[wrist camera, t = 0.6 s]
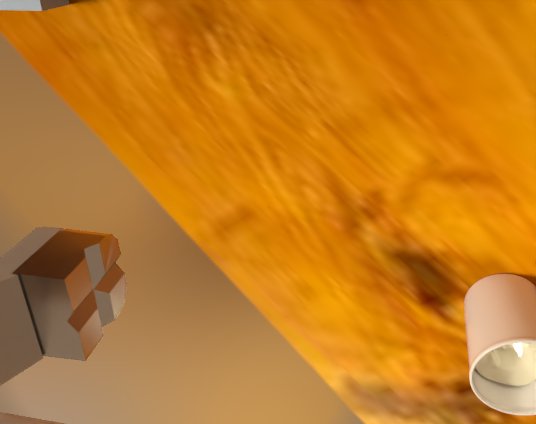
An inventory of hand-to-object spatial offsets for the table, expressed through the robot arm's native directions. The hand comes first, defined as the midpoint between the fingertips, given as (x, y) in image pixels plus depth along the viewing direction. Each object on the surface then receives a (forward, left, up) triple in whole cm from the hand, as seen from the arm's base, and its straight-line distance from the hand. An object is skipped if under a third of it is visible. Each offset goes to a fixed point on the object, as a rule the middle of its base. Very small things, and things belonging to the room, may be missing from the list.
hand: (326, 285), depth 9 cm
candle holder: (+33, +17, -44) cm, 57 cm away
